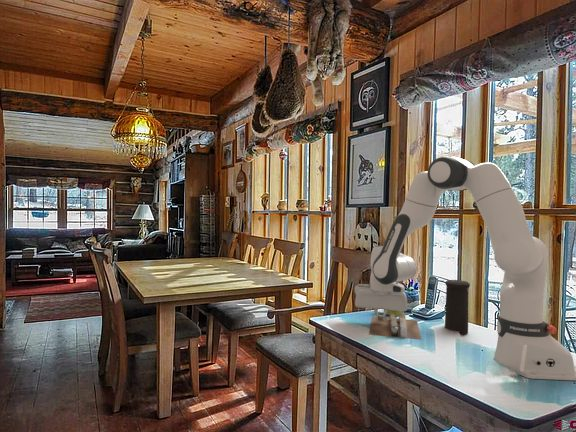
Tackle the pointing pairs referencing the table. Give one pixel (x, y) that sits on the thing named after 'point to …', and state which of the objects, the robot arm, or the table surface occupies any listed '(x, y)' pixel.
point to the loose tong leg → (393, 324)
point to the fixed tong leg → (402, 326)
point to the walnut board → (385, 328)
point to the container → (457, 306)
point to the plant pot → (394, 312)
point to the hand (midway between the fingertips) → (380, 320)
